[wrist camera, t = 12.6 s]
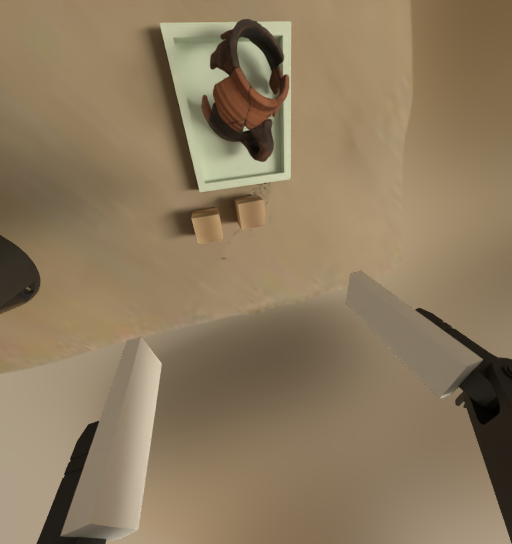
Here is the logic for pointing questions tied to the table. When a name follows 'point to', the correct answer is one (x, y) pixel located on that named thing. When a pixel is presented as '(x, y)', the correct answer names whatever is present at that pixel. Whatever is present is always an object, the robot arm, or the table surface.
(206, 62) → the tray
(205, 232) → the oak cube
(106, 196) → the table surface
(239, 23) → the broken pot
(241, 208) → the oak cube
